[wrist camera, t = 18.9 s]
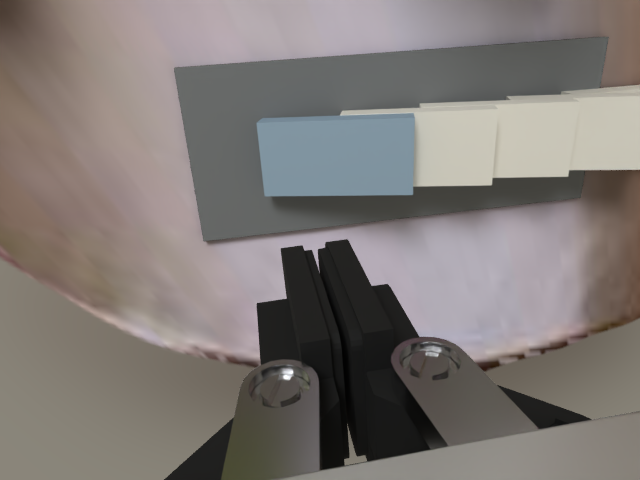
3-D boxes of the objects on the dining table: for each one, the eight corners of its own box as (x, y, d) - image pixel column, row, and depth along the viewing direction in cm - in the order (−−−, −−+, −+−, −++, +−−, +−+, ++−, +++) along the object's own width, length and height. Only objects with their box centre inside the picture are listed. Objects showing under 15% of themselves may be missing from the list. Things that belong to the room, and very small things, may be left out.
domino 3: (506, 96, 34) (660, 91, 33) (499, 164, 37) (644, 163, 35) (510, 99, 33) (672, 94, 31) (503, 170, 35) (654, 169, 34)
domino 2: (419, 103, 34) (571, 97, 32) (417, 172, 36) (560, 169, 34) (420, 107, 32) (580, 101, 31) (418, 178, 34) (567, 176, 33)
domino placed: (262, 118, 33) (413, 113, 31) (269, 188, 35) (412, 187, 33) (256, 122, 31) (414, 117, 30) (264, 196, 33) (412, 195, 32)
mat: (603, 36, 35) (608, 36, 34) (576, 195, 40) (580, 197, 39) (174, 67, 31) (173, 68, 30) (203, 238, 36) (203, 241, 35)
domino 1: (342, 110, 33) (494, 104, 32) (344, 180, 35) (487, 178, 34) (339, 115, 32) (498, 109, 30) (343, 187, 34) (491, 185, 32)
